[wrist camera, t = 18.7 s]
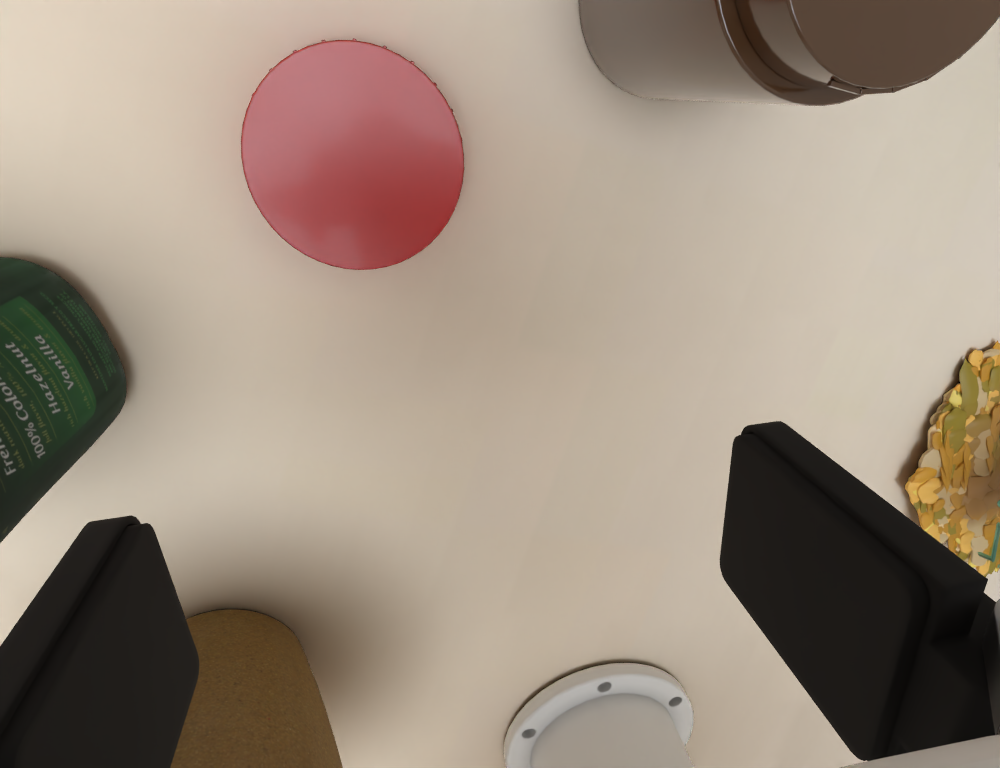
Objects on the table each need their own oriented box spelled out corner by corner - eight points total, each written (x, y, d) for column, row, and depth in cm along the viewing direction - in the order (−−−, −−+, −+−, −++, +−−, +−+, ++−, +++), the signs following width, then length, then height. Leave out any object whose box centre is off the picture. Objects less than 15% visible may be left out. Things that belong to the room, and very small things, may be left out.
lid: (227, 47, 21) (212, 43, 19) (448, 37, 22) (456, 32, 20) (275, 265, 24) (266, 281, 22) (464, 246, 26) (472, 260, 24)
